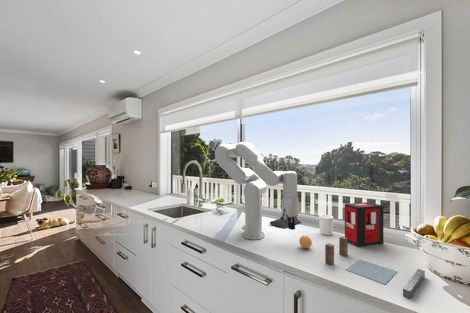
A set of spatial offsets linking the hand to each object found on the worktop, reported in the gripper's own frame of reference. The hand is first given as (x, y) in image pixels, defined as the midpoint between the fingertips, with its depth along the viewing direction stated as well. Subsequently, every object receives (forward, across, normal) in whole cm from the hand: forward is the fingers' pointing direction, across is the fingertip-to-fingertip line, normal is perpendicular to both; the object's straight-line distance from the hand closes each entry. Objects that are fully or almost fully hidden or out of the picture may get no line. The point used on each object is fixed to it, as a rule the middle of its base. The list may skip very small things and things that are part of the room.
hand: (291, 228), depth 121 cm
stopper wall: (+9, 0, +52) cm, 53 cm away
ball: (+5, 0, +8) cm, 10 cm away
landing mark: (+9, 0, +38) cm, 39 cm away
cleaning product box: (+9, -30, +24) cm, 39 cm away
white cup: (+8, -28, +4) cm, 29 cm away
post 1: (+8, +7, +24) cm, 27 cm away
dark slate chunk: (+8, -25, -24) cm, 36 cm away
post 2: (+8, -6, +24) cm, 26 cm away
